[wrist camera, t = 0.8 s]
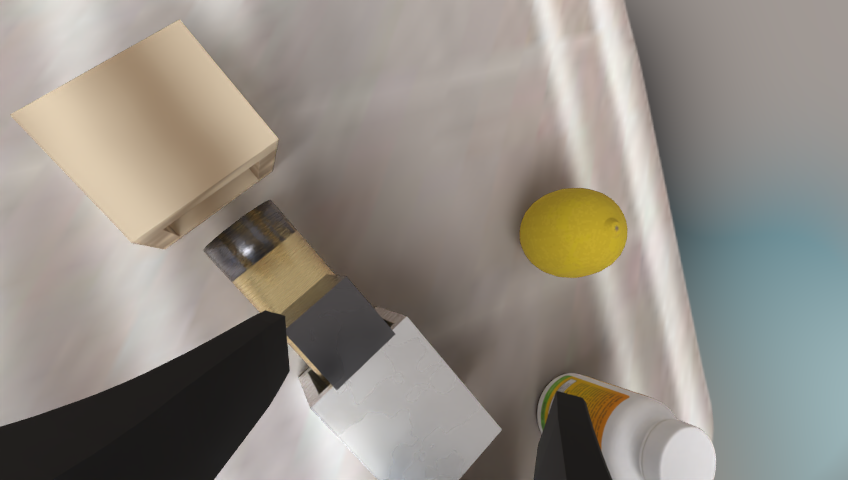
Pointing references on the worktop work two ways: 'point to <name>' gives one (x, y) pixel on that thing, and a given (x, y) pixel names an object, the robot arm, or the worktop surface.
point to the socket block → (154, 137)
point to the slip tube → (300, 293)
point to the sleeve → (404, 410)
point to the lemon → (573, 232)
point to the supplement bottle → (636, 432)
